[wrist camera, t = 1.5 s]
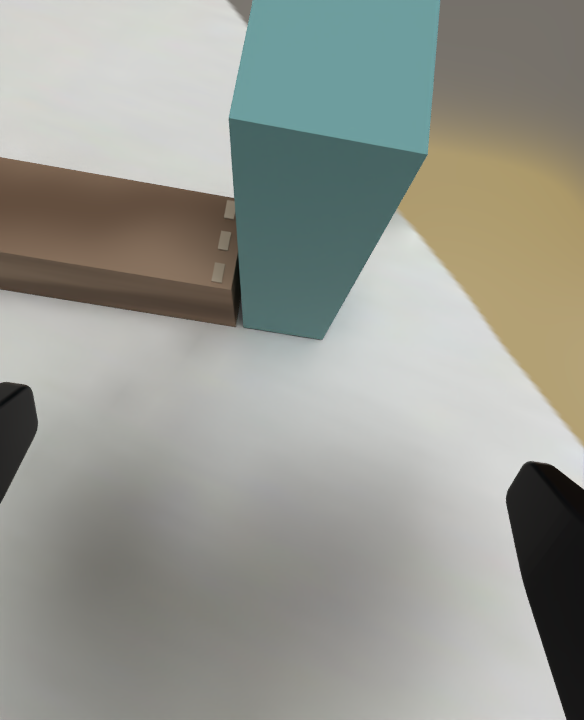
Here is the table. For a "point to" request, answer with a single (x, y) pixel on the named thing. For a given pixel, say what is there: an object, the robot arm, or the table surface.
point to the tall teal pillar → (324, 147)
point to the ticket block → (118, 243)
